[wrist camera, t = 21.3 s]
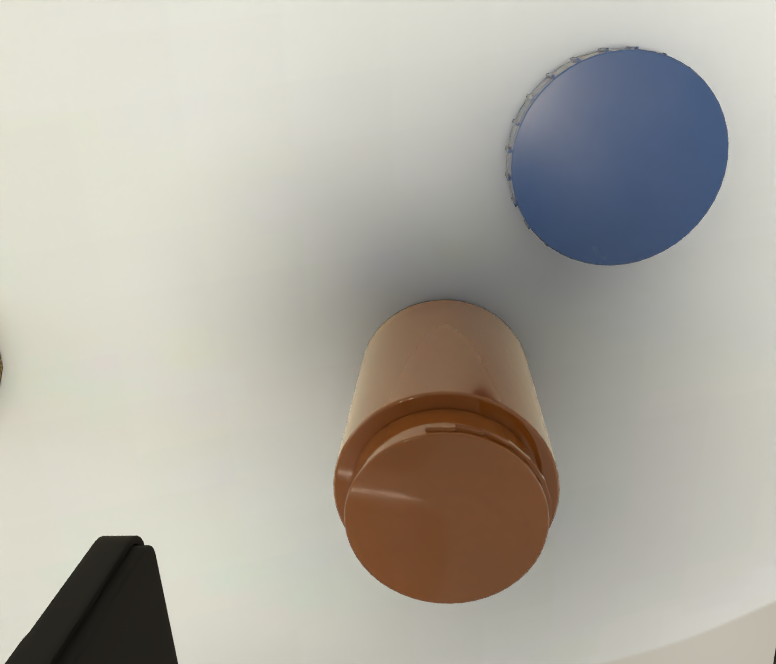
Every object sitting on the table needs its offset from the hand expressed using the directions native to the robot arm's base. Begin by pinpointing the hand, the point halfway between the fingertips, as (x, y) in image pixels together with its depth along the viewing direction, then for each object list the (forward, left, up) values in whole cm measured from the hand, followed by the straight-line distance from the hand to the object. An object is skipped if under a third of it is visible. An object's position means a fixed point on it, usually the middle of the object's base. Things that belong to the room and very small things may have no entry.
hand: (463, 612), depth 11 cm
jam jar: (-4, 0, -17) cm, 18 cm away
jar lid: (+4, -6, -16) cm, 17 cm away
